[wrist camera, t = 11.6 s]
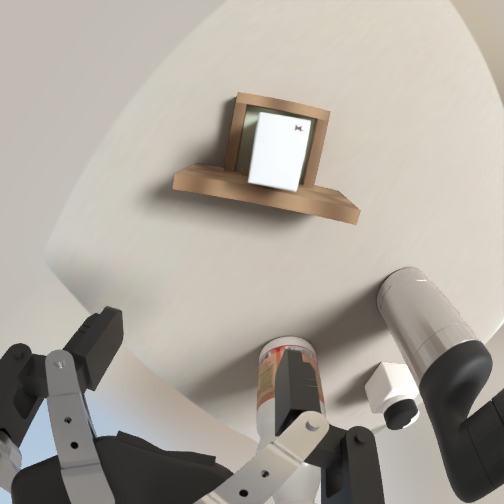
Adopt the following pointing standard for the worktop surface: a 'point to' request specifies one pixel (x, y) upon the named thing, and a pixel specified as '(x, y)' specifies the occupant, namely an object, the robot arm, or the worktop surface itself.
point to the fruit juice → (306, 476)
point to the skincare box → (278, 151)
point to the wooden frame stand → (239, 158)
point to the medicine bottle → (393, 394)
